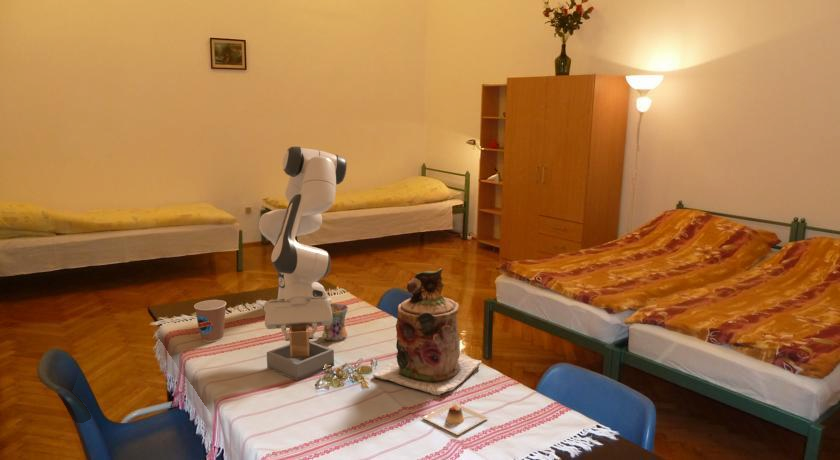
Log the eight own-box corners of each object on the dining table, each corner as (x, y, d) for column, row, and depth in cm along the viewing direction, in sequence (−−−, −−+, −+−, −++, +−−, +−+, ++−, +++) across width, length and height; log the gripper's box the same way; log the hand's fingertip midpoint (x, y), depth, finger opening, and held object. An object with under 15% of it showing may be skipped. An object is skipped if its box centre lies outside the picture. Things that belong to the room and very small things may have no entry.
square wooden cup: (291, 350, 184) (289, 325, 182) (309, 349, 185) (308, 324, 183) (290, 358, 178) (289, 332, 177) (309, 357, 179) (308, 331, 178)
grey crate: (303, 353, 192) (303, 338, 191) (334, 365, 183) (333, 349, 182) (267, 367, 181) (266, 352, 180) (297, 380, 173) (297, 364, 172)
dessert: (421, 421, 152) (421, 403, 151) (452, 405, 160) (453, 388, 159) (457, 439, 144) (457, 420, 143) (488, 421, 152) (489, 403, 151)
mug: (353, 338, 205) (353, 308, 203) (330, 345, 199) (330, 314, 197) (334, 328, 214) (333, 300, 212) (311, 335, 208) (310, 305, 206)
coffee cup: (189, 340, 203) (187, 306, 200) (213, 330, 212) (210, 297, 209) (212, 346, 198) (209, 311, 196) (235, 335, 207) (233, 302, 205)
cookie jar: (414, 350, 195) (414, 254, 189) (483, 367, 183) (486, 264, 177) (369, 379, 174) (368, 271, 168) (444, 400, 162) (446, 284, 156)
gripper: (263, 295, 184) (262, 337, 176) (331, 291, 187) (333, 332, 180) (264, 304, 189) (264, 346, 181) (331, 301, 192) (333, 341, 185)
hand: (299, 339), depth 181 cm, fingers closed on square wooden cup, 5 cm apart
